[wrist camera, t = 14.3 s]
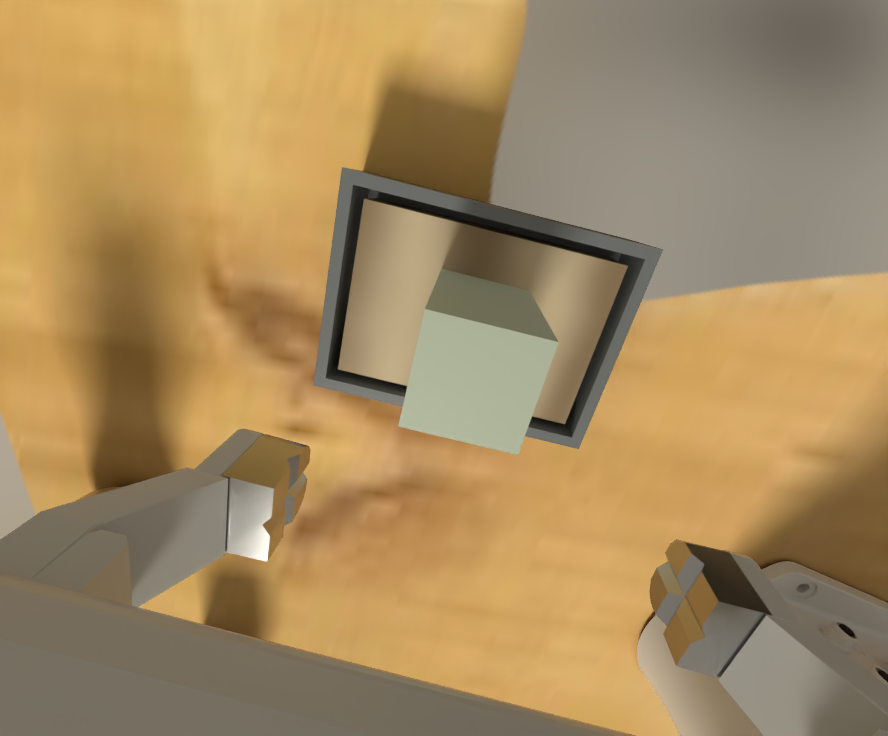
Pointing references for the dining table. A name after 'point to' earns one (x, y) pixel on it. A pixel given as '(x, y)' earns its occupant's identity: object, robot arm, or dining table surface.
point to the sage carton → (478, 363)
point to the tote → (374, 186)
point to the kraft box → (479, 255)
